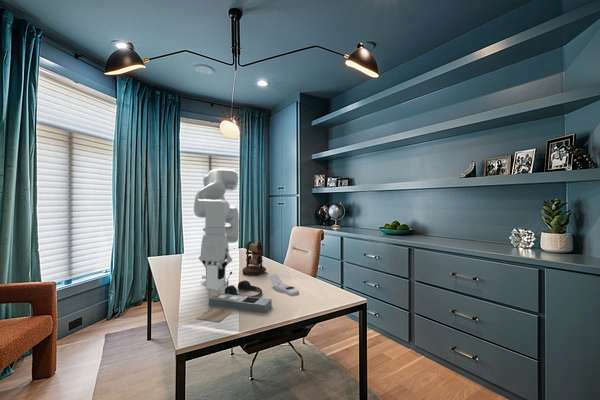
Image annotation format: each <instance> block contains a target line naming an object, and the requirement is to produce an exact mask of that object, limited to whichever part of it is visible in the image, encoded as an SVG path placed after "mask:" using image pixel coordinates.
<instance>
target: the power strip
mask: <svg viewBox="0 0 600 400" xmlns="http://www.w3.org/2000/svg"><path fill="white" fill-rule="evenodd" d="M240 295H241V294H239V295H231V294H225V293H220V292H218V293H216V294H214V295H212V296H211V297H209V298H208V306H209V307H218V308H224V309H225V308H226V309H230V310H231V309H232V310H233V309H234V310H238V311H239V310H240V311H247V312H255V313H263V314H265V313H267V311H269V309H271V307H272V298H266V297H264V298H263V297H258V298H257V297H248V296H249V295H243V296H240Z"/></svg>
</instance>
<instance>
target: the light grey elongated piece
mask: <svg viewBox="0 0 600 400" xmlns="http://www.w3.org/2000/svg"><path fill="white" fill-rule="evenodd" d="M267 278H268V279H269V280H270V282H271V284H272V286H273V287H274V290H275V291H278V292H279V293H280V294H285V295H288V296H290V297H291V296H292V297H293V296H296V295H300V290H299V289H298V288H296V287H294V286H292V285H289V284H286V283H284V282H282V280H281V279H280V277H279V275H278V274H277V273H271V274H267Z"/></svg>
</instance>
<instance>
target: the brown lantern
mask: <svg viewBox="0 0 600 400" xmlns="http://www.w3.org/2000/svg"><path fill="white" fill-rule="evenodd" d="M245 246H246V252H245V254H246V259H245V262H246V264H245V265H246V266H245V267H243V268H242V271H241V272H242V274H243V275H245V274H247V275H248V274H249V275H256V276H259V274H263V273H265V272H266V271H267V268H266V266H263V262H264V261H263V255H264V253H263V247H264V246H263V244H262V242H261V241H258V242H257V243H253V242H252V241H251V240H249V241H248V242H247V244H246V245H245Z"/></svg>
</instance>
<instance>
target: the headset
mask: <svg viewBox="0 0 600 400" xmlns="http://www.w3.org/2000/svg"><path fill="white" fill-rule="evenodd" d="M232 274H233V271H230V272H229V275H228V277H227V278H226V279H227V282H228V283H229V278H230V275H232ZM237 289H238V290H240V291H242V290H244V291H246V292H248V291H250V290H251V291H255V292H258V294H254V295H247V296H248V297H257V298H261V296H262V295H263V289H262V288H261V287H258V286H256V285H251V283H250V282H249V281H248V280H242V281H239V282H238V284H237V288H236V286H235V285H232V284H231V285H228V284H226V287H225V288H224V294H231V295H240V296H244V295H242V294H239V293H238V290H237Z"/></svg>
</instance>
